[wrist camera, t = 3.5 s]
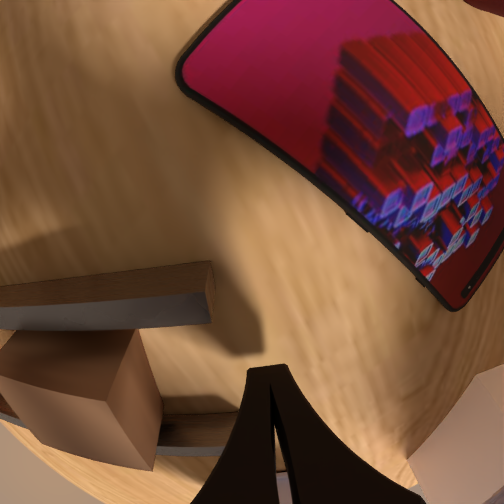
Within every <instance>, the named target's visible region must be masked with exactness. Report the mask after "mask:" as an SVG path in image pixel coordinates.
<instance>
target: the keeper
mask: <svg viewBox="0 0 504 504" xmlns="http://www.w3.org/2000/svg"><path fill="white" fill-rule="evenodd" d="M0 393H1V394H2V396H3V397H4V398H5V400H6V401H7V403H8V404H9V405H10V407H11V408H12V409H13V411H14V412H15V413H16V414H17V416H18V417H19V418H20V419H21V421H22V422H23V423H24V424H25V425H26V427H27V428H28V429H29V430H30V431H31V432H32V433H33V435H34V436H35V437H36V438H37V439H38V440H39V441H40V442H41V443H42V444H44V445H47V446H50V447H52V448H55V449H58V450H61V451H64V452H67V453H70V454H74V455H77V456H80V457H84V458H87V459H91V460H95V461H99V462H103V463H108V464H112V465H117V466H122V467H127V468H133V469H139V470H145V471H152V472H153V466H154V460H155V454H156V448H157V442H158V437H159V431H160V426H161V420H162V415H163V410H164V403H163V401H162V398H161V396H160V393H159V390H158V388H157V385H156V382H155V379H154V376H153V374H152V371H151V368H150V365H149V362H148V359H147V356H146V352H145V349H144V346H143V343H142V339H141V336H140V333H139V329H122V330H93V331H33V330H17V331H16V332H15V333H14V334H13V335H12V337H11V338H10V339H9V340H8V341H7V343H6V344H5V345H4V346H3V347H2V349H1V350H0Z"/></svg>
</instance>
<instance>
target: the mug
mask: <svg viewBox="0 0 504 504" xmlns="http://www.w3.org/2000/svg"><path fill="white" fill-rule="evenodd" d="M464 1H465V2H467V3H468V4H470V5H471V6H473V7H475V8H477V9H480V10H483V11H486V12H490V13H493V14H496V15H499V16H502V17H504V0H464Z"/></svg>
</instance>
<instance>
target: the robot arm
mask: <svg viewBox="0 0 504 504" xmlns="http://www.w3.org/2000/svg"><path fill="white" fill-rule="evenodd" d="M274 425H275V428H274ZM275 429H276V433H277V436H278V440H279V444H280V448H281V452H282V455H283V459H284V463H285V467H286V470H287V472H282V473H276V455H275ZM190 504H426V503H425V501H424V500H423V498H422V497H421V496H420V495H418V494H416V493H414V492H412V491H410V490H408V489H406V488H404V487H402V486H401V485H399V484H397V483H395V482H394V481H392V480H390V479H389V478H387V477H386V476H384V475H383V474H381V473H380V472H378V471H377V470H376V469H374V468H373V467H372V466H370V465H369V464H368V463H366V462H365V461H364V460H362V459H361V458H360V457H359V456H357V455H356V454H355V453H354V452H353V451H352V450H351V449H350V448H348V447H347V446H346V445H345V444H344V443H343V442H342V441H341V440H340V439H339V438H338V437H337V436H336V435H335V434H334V433H333V432H332V430H331V429H330V428H329V427H328V426H327V425H326V424H325V423H324V421H323V420H322V419H321V418H320V417H319V415H318V414H317V413H316V411H315V410H314V409H313V407H312V406H311V405H310V403H309V402H308V401H307V399H306V398H305V396H304V395H303V393H302V392H301V390H300V388H299V387H298V385H297V384H296V382H295V380H294V378H293V376H292V374H291V372H290V370H289V368H288V365H286V364H277V365H270V366H263V367H255V368H249V369H248V370H247V377H246V384H245V390H244V394H243V398H242V402H241V405H240V409H239V412H238V415H237V418H236V421H235V424H234V426H233V429H232V431H231V434H230V437H229V439H228V441H227V444H226V446H225V448H224V450H223V452H222V454H221V456H220V458H219V460H218V462H217V464H216V466H215V467H214V469H213V471H212V472H211V474H210V476H209V477H208V479H207V481H206V482H205V484H204V485H203V487H202V488H201V490H200V491H199V493H198V494H197V495H196V497H195V498H194V499H193V501H192V502H191V503H190ZM482 504H504V486H503V487H501V488H500V489H499V490H498V491H496V492H495V493H494V494H493V495H492V497H490V498H489V499H488V500H486V501H485V502H484V503H482Z"/></svg>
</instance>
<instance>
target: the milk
mask: <svg viewBox="0 0 504 504" xmlns="http://www.w3.org/2000/svg"><path fill="white" fill-rule="evenodd" d="M407 462H408V463H409V465H410V467H411V469H412V471H413V473H414V475H415V477H416V479H417V481H418V483H419V485H420V487H421V489H422V491H423V493H424V495H425V497H426V499H427V501H428V503H429V504H482V503H484V502H485V501H486V500H488V499H489V498H490V497H492V495H493V494H494V493H495V492H496V491H498V490H499V489H500V488H501V487H503V486H504V364H502V365H499V366H497V367H494V368H492V369H489V370H487V371H484V372H482V373H479V374H476V375H475V376H474V378H473V380H472V381H471V383H470V384H469V386H468V387H467V389H466V390H465V391H464V393H463V394H462V396H461V397H460V398H459V400H458V401H457V403H456V404H455V405H454V407H453V408H452V409H451V410H450V412H449V413H448V414H447V416H446V417H445V418H444V419H443V421H442V422H441V423H440V424H439V425H438V427H437V428H436V429H435V430H434V431H433V432H432V434H431V435H430V436H429V437H428V438H427V439H426V440H425V441H424V443H423V444H422V445H421V446H420V447H419V448H418V449H417V450H416V451H415V452H414V453H413V454H412V455H411V456H410V457H409V458H408V459H407Z"/></svg>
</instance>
